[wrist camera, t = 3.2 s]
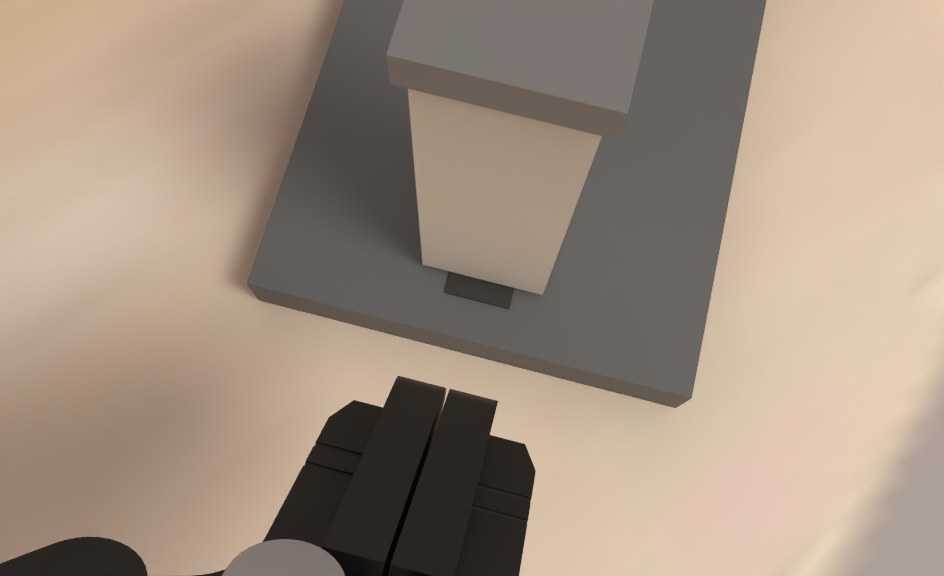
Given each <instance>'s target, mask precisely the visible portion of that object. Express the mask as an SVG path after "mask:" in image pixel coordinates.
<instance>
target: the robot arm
mask: <svg viewBox="0 0 944 576" xmlns="http://www.w3.org/2000/svg"><path fill="white" fill-rule="evenodd" d="M445 394H446V388H444V387H440V386H436V385H432V384H428V383H424V382H420V381H416V380H412V379H409V378H405V377H401V376H398V377H397V378H396V380H395V383H394V385H393V387H392V389H391V392H390V394H389V396H388V398H387V401H386V403H385V405H384V407H383V408H382V407H378V406H374V405H370V404H367V403H363V402H359V401H355V400H353V401H352V402H351V403H349V404H348V405H346V406H345V407H343V408H342V409H340V410H339V411H338V412H336V413H335V414H333V415H332V416H330V417H329V418H328V420H327V422H326V424H325V426H324V428H323V430H322V431H321V433H320V435H319V437H318V439H317V441H316V445H315V446H314V447H313V448H312V450H311V452H310V454H309V456H308V458H307V460H306V463H305V466H303V467H302V469H301V471H300V473H299V475H298V477H297V479H296V481H295V483H294V484H293V486H292V488H291V490H290V492H289V494H288V496H287V498H286V500H285V501H284V503H283V505H282V507H281V509H280V511H279V513H278V515H277V517H276V518H275V520H274V522H273V524H272V526H271V528H270V530H269V532H268V534H267V535H266V537H265V539H264V541H263V542H262V543H259V544H256V545H254V546H252V547H249V548H248V549H246V550H244V551H243V552H241V553H240V554H239V555H238V556H237V557H235V558H234V559H233V561H232V562H231V563H230V564H229V565H228V567H227V568H226V569H225V570H222V571H219V572H215V573H211V574H205V575H195V576H519V571H520V565H521V559H522V553H523V546H524V540H525V534H526V528H527V521H528V515H529V509H530V501H531V496H532V490H533V484H534V478H535V468H534V466H533V463H532V461H531V458H530V456H529V453H528V451H527V448H526V446H525V444H522V443H518V442H514V441H511V440H507V439H503V438H499V437H495V436H491V435H490V431H491V427H492V423H493V419H494V415H495V411H496V407H497V402H498V401H495V400H491V399H487V398H483V397H480V396H476V395H472V394H468V393H464V392H460V391H456V390H452V389H450V390H449V393H448V396H447V399H446V402H445V404H444V400H445ZM443 404H444V407H443ZM442 409H443V410H442ZM0 576H147V570H146V566H145V564H144V562H143V561H142V559H141V558H140V556H139V555H138V554H137V553H136V552H135V551H134V550H132V549H131V548H130V547H128V546H126V545H124V544H122V543H120V542H117V541H114V540H111V539H106V538H100V537H81V538H73V539H68V540H64V541H60V542H57V543H54V544H51V545H49V546H46V547H43V548H41V549H38V550H36V551H33V552H30V553H28V554H25V555H22V556H20V557H17V558H14V559H12V560H9V561H6V562H4V563H1V564H0Z"/></svg>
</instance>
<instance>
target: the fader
mask: <svg viewBox="0 0 944 576" xmlns="http://www.w3.org/2000/svg"><path fill="white" fill-rule="evenodd" d="M653 2H654V0H404V1H403V4H402V7H401V10H400V13H399V17H398V20H397V23H396V26H395V29H394V32H393V35H392V38H391V41H390V44H389V47H388V50H387V54H386V58H387V67H388V75H389V83H390V84H391V85H395V86H399V87H403V88H408V98H409V110H410V122H411V134H412V145H413V157H414V169H415V181H416V192H417V204H418V216H419V228H420V240H421V251H422V263H423V265H426V266H430V267H434V268H438V269H442V270H446V271H450V272H454V273H457V274H461V275H465V276H469V277H473V278H477V279H481V280H485V281H489V282H493V283H497V284H501V285H505V286H509V287H513V288H516V289H520V290H524V291H528V292H532V293H536V294H540V295H543V293H544V290H545V287H546V285H547V282H548V279H549V277H550V274H551V271H552V269H553V266H554V263H555V261H556V258H557V255H558V253H559V250H560V247H561V245H562V242H563V239H564V237H565V234H566V231H567V228H568V226H569V223H570V220H571V218H572V215H573V212H574V210H575V207H576V204H577V202H578V199H579V196H580V194H581V191H582V188H583V186H584V183H585V180H586V178H587V175H588V172H589V170H590V167H591V164H592V162H593V159H594V156H595V153H596V151H597V148H598V145H599V143H600V140H601V137H602V136H603V137H607V138H611V139H615V140H617V139H618V136H619V134H620V131H621V129H622V127H623V124H624V122H625V119H626V117H627V114H628V111H629V106H630V102H631V98H632V93H633V89H634V85H635V80H636V76H637V72H638V67H639V63H640V58H641V54H642V50H643V45H644V41H645V37H646V32H647V28H648V24H649V19H650V15H651V11H652V6H653Z"/></svg>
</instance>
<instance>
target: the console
mask: <svg viewBox="0 0 944 576" xmlns="http://www.w3.org/2000/svg"><path fill="white" fill-rule="evenodd" d="M403 1H404V0H345V2H344V5H343V8H342V11H341V13H340V16H339V19H338V22H337V25H336V28H335V31H334V34H333V37H332V39H331V42H330V45H329V48H328V51H327V54H326V57H325V60H324V63H323V65H322V68H321V71H320V74H319V77H318V80H317V83H316V86H315V89H314V92H313V94H312V97H311V100H310V103H309V106H308V109H307V112H306V115H305V118H304V120H303V123H302V126H301V129H300V132H299V135H298V138H297V141H296V144H295V146H294V149H293V152H292V155H291V158H290V161H289V164H288V167H287V170H286V173H285V175H284V178H283V181H282V184H281V187H280V190H279V193H278V196H277V199H276V201H275V204H274V207H273V210H272V213H271V216H270V219H269V222H268V225H267V227H266V230H265V233H264V236H263V239H262V242H261V245H260V248H259V251H258V254H257V256H256V259H255V262H254V265H253V268H252V271H251V274H250V277H249V280H248V282H247V284H248V285H249V287H250V288H251V289H252V291H253V292H254V293H255V295H256V296H257V297H258V299H259V300H261V301H265V302H268V303H272V304H276V305H280V306H284V307H288V308H292V309H295V310H299V311H303V312H307V313H311V314H315V315H319V316H323V317H326V318H330V319H334V320H338V321H342V322H346V323H350V324H353V325H357V326H361V327H365V328H369V329H373V330H377V331H381V332H384V333H388V334H392V335H396V336H400V337H404V338H408V339H412V340H415V341H419V342H423V343H427V344H431V345H435V346H439V347H442V348H446V349H450V350H454V351H458V352H462V353H466V354H470V355H473V356H477V357H481V358H485V359H489V360H493V361H497V362H500V363H504V364H508V365H512V366H516V367H520V368H524V369H528V370H531V371H535V372H539V373H543V374H547V375H551V376H555V377H559V378H562V379H566V380H570V381H574V382H578V383H582V384H586V385H589V386H593V387H597V388H601V389H605V390H609V391H613V392H617V393H620V394H624V395H628V396H632V397H636V398H640V399H644V400H647V401H651V402H655V403H659V404H663V405H667V406H671V407H675V408H676V407H678V406H680V405H681V404H683V403H684V402H686V401H688V400H689V399H691V398H692V393H693V387H694V382H695V377H696V371H697V366H698V361H699V355H700V350H701V345H702V339H703V334H704V329H705V323H706V318H707V313H708V308H709V302H710V297H711V292H712V286H713V281H714V276H715V270H716V265H717V260H718V254H719V249H720V244H721V238H722V233H723V228H724V222H725V217H726V212H727V206H728V201H729V196H730V191H731V185H732V180H733V175H734V169H735V164H736V159H737V153H738V148H739V143H740V137H741V132H742V127H743V121H744V116H745V111H746V105H747V100H748V95H749V89H750V84H751V79H752V74H753V68H754V63H755V58H756V52H757V47H758V42H759V36H760V31H761V26H762V20H763V15H764V10H765V4H766V0H654V2H653V6H652V11H651V15H650V19H649V24H648V28H647V32H646V37H645V41H644V45H643V50H642V54H641V58H640V63H639V67H638V72H637V76H636V80H635V85H634V89H633V93H632V98H631V102H630V106H629V111H628V114H627V117H626V119H625V122H624V124H623V127H622V129H621V131H620V134H619V136H618V139H617V140H615V139H611V138H607V137H603V136H602V137H601V140H600V143H599V145H598V148H597V151H596V153H595V156H594V159H593V162H592V164H591V167H590V170H589V172H588V175H587V178H586V180H585V183H584V186H583V188H582V191H581V194H580V196H579V199H578V202H577V204H576V207H575V210H574V212H573V215H572V218H571V220H570V223H569V226H568V228H567V231H566V234H565V237H564V239H563V242H562V245H561V247H560V250H559V253H558V255H557V258H556V261H555V263H554V266H553V269H552V271H551V274H550V277H549V279H548V282H547V285H546V287H545V290H544V293H543V295H540V294H536V293H532V292H528V291H524V290H520V289H516V288H513V287H509V286H505V285H501V284H497V283H493V282H489V281H485V280H481V279H477V278H473V277H469V276H465V275H461V274H457V273H454V272H450V271H446V270H442V269H438V268H434V267H430V266H426V265H423V263H422V251H421V240H420V228H419V216H418V204H417V192H416V181H415V169H414V157H413V145H412V134H411V122H410V110H409V98H408V88H403V87H399V86H395V85H391V84H390V83H389V75H388V67H387V58H386V54H387V50H388V47H389V44H390V41H391V38H392V35H393V32H394V29H395V26H396V23H397V20H398V17H399V13H400V10H401V7H402V4H403Z"/></svg>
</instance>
